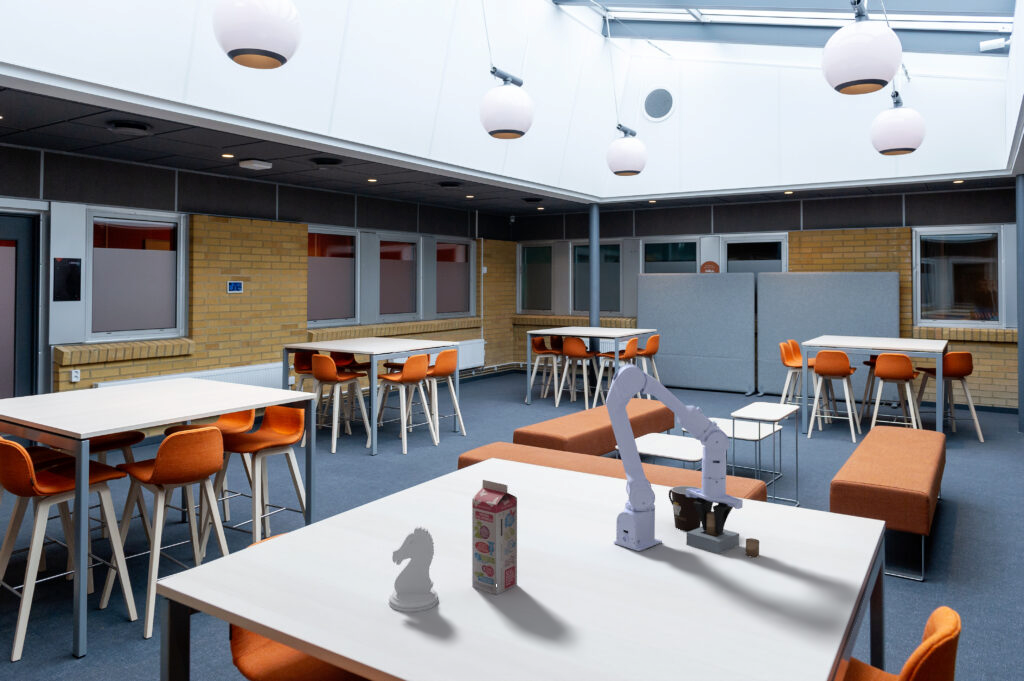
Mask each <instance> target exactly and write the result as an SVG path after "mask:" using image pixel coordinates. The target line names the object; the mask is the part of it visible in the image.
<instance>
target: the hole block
mask: <svg viewBox="0 0 1024 681" xmlns="http://www.w3.org/2000/svg"><path fill="white" fill-rule="evenodd" d="M685 543H686V545H687V546H690V547H693V546H694V548H696V549H697V548H698V549H700V550H703V549H704V550H703V551H707V552H711V553H714V554H717V555H720V554H723V553H725V552H727V551H729V549H730V550H732V549H734V548H736V547H739V546H740V533H739V532H736V531H732V530H729V529H723V533H720V534H719V536H717V537H714V536H710V535H706V531H705V530H703V527H702V526H700V528H697V529H695V530H692V531H686V542H685ZM738 545H739V546H738Z"/></svg>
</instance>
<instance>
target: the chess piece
mask: <svg viewBox="0 0 1024 681" xmlns="http://www.w3.org/2000/svg"><path fill="white" fill-rule="evenodd" d="M434 544H435V543H434V540H433V538H432V534H431V533H430V531H429V530H428V528H426V527H422V526H421V525H420V526H415V527H414V530H413V531H411V532H409V533H408V534H407V535H406V537H405V539H404V540H403V542H402V543H401V545H400V546H399V547H398V548H397V549H394V550H393V551H392V562H393V563H394V564H395V563H396V565H397V566H400V565H401V564H402V562H403V561H404V560H407V559H409V561H408V562H407V563H406V565H405V566H404V567H403V568H402V570H401V571H400V572H399V573H398V575H397V576H396V578H395V580H394V583H393V584H394V590H393V591H392V592H391V594H390V595H389V597H388V605H389V607H390V608H391V609H394V610H396V611H399V612H404V613H405V612H406V613H415V612H422V611H427V610H428V609H432V608H434V607H435V606H437V604H438V602H439V596H438V593H437V591H436V590H435V589H434V588H433V587H434V581H432V579H431V577H430V566H431V565H432V562H433V558H434V555H435V549H434V548H435V547H434Z"/></svg>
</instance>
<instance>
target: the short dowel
mask: <svg viewBox="0 0 1024 681" xmlns="http://www.w3.org/2000/svg"><path fill="white" fill-rule="evenodd" d="M745 556H747V557H749V556H751V557H750V558H758V557H757V556H760V540H759V539H757V538H752V537H749V538H746V539H745Z"/></svg>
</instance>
